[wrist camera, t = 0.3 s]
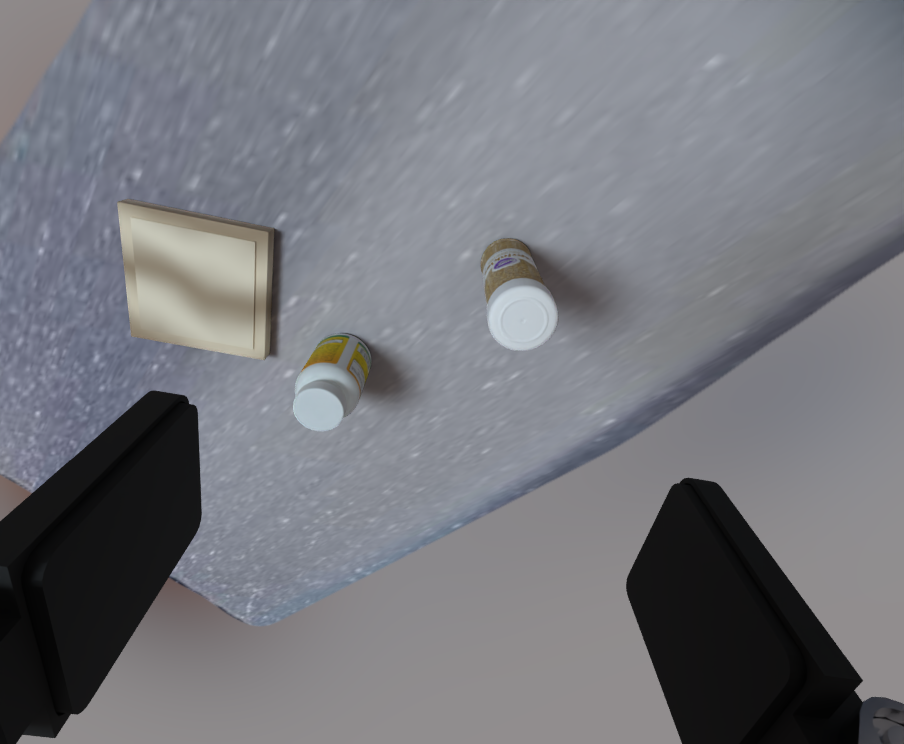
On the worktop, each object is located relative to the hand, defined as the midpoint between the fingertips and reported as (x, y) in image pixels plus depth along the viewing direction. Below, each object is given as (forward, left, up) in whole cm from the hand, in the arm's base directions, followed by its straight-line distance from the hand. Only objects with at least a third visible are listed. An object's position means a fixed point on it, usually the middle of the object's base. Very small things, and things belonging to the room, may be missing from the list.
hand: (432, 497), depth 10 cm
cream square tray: (+11, -20, -36) cm, 42 cm away
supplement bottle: (+16, -7, -36) cm, 40 cm away
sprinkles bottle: (+4, +6, -36) cm, 36 cm away
